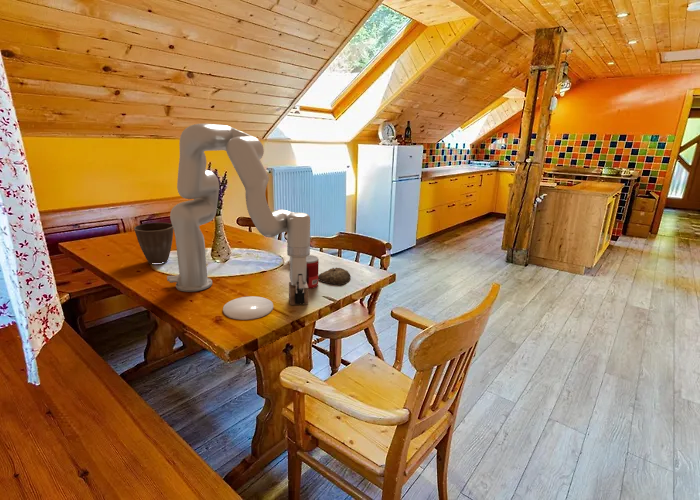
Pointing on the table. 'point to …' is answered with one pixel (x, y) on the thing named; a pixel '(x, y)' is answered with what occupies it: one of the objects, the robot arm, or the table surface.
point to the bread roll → (335, 276)
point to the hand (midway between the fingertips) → (298, 298)
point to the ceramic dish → (248, 308)
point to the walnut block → (293, 291)
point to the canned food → (312, 271)
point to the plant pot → (155, 241)
